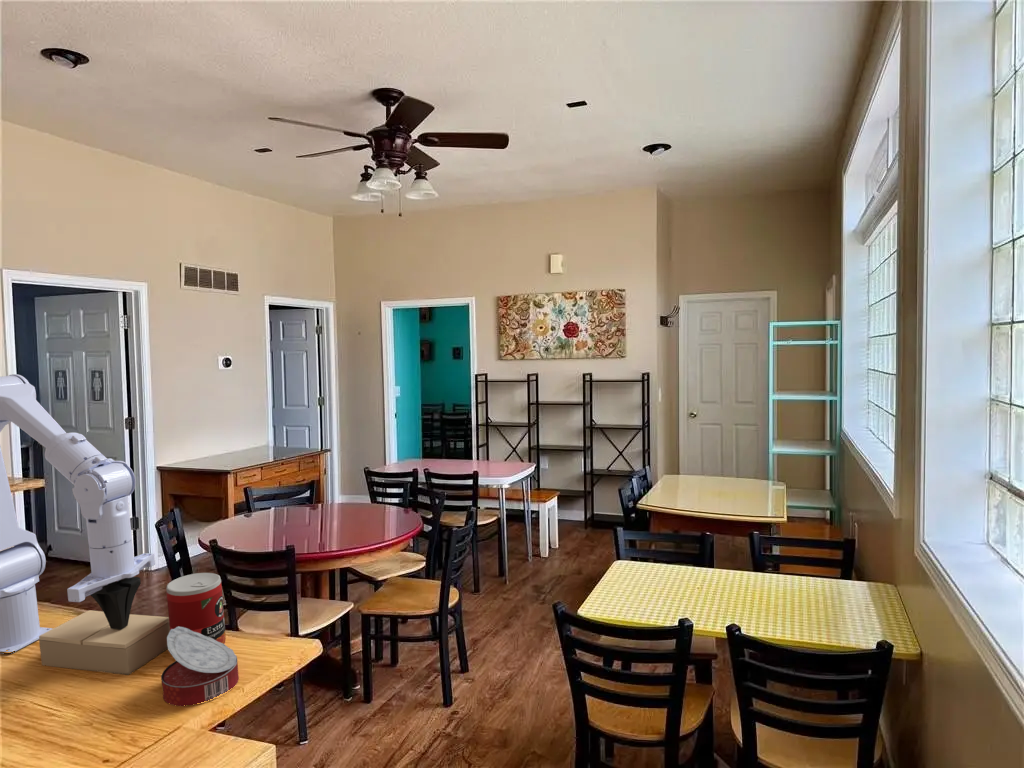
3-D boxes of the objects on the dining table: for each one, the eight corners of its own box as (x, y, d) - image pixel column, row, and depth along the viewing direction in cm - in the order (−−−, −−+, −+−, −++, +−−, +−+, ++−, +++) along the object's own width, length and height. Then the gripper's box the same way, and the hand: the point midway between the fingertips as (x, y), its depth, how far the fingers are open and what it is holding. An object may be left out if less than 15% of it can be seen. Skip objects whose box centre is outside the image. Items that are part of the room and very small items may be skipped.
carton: (41, 665, 102) (39, 640, 102) (91, 637, 111) (89, 614, 110) (128, 675, 98) (126, 649, 98) (173, 645, 107) (170, 621, 107)
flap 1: (39, 639, 102) (39, 635, 102) (89, 613, 110) (89, 610, 110) (80, 644, 100) (80, 640, 100) (128, 617, 109) (127, 614, 108)
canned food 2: (201, 699, 100) (218, 629, 103) (246, 709, 95) (263, 635, 98) (130, 701, 91) (152, 623, 94) (176, 712, 86) (197, 630, 89)
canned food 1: (213, 660, 102) (207, 591, 101) (161, 661, 102) (155, 592, 101) (235, 635, 110) (229, 571, 108) (187, 637, 110) (181, 572, 109)
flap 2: (170, 620, 107) (169, 617, 107) (125, 648, 98) (125, 644, 98) (130, 617, 108) (129, 614, 108) (82, 644, 100) (82, 640, 100)
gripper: (92, 561, 94) (101, 652, 96) (167, 528, 108) (174, 608, 110) (51, 558, 96) (61, 648, 97) (131, 526, 110) (139, 605, 111)
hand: (119, 627), depth 103 cm, fingers closed
